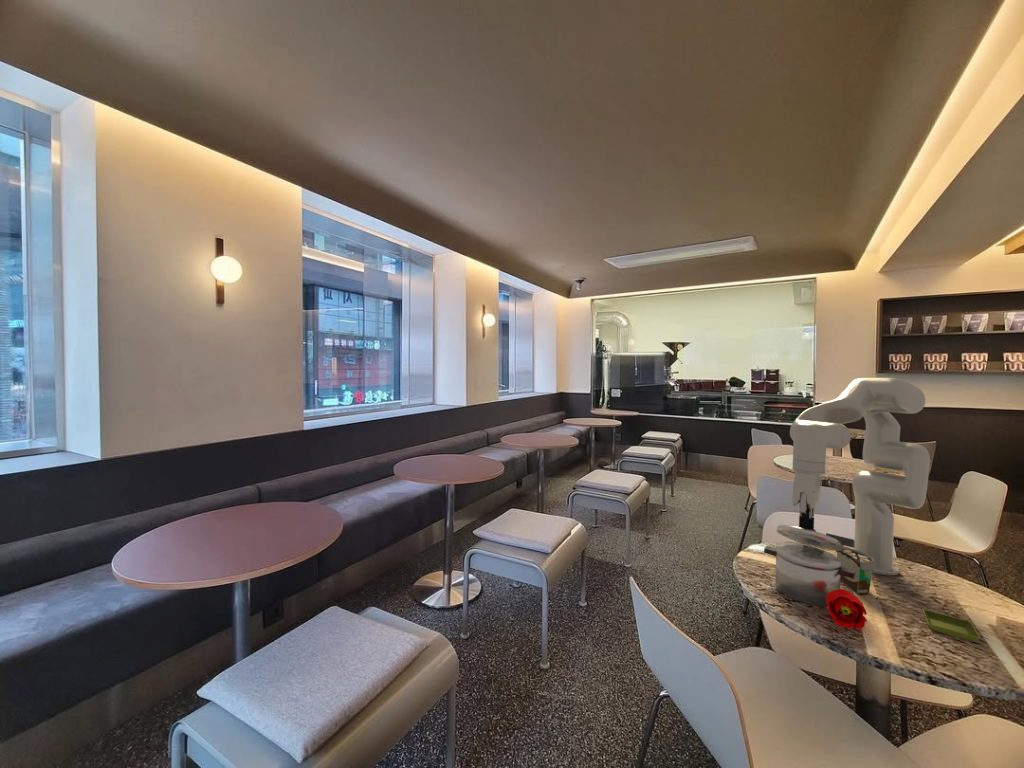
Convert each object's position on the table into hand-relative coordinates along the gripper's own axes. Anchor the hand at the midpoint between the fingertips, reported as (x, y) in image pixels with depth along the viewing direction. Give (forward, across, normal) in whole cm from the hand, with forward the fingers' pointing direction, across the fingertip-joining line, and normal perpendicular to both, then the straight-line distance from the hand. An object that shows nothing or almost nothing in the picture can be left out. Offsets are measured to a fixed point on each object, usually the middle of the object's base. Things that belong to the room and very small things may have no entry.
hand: (806, 530), depth 114 cm
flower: (+19, +8, +10) cm, 23 cm away
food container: (+18, -17, +10) cm, 27 cm away
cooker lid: (+4, -3, +1) cm, 5 cm away
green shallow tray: (+19, -8, +28) cm, 35 cm away
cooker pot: (+18, -2, 0) cm, 18 cm away
